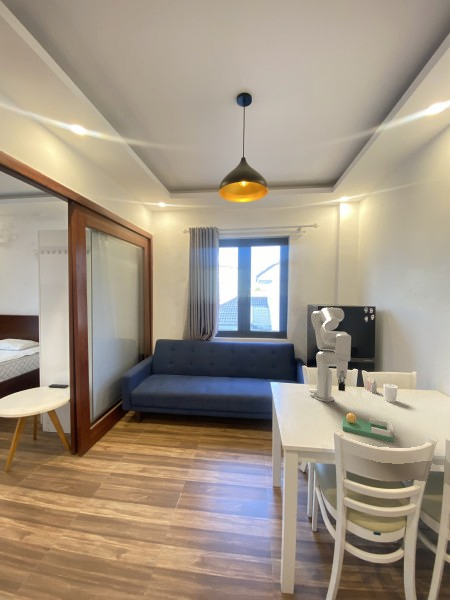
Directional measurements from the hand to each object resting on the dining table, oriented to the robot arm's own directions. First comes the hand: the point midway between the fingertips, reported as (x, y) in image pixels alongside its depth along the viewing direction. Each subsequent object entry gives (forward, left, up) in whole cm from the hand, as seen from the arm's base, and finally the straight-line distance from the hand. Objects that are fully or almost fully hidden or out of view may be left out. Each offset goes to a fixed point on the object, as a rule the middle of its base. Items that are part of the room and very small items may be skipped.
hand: (341, 387), depth 135 cm
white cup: (+29, +47, -20) cm, 59 cm away
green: (+12, -2, -19) cm, 23 cm away
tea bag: (+19, +59, -20) cm, 65 cm away
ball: (+5, -2, -15) cm, 16 cm away
